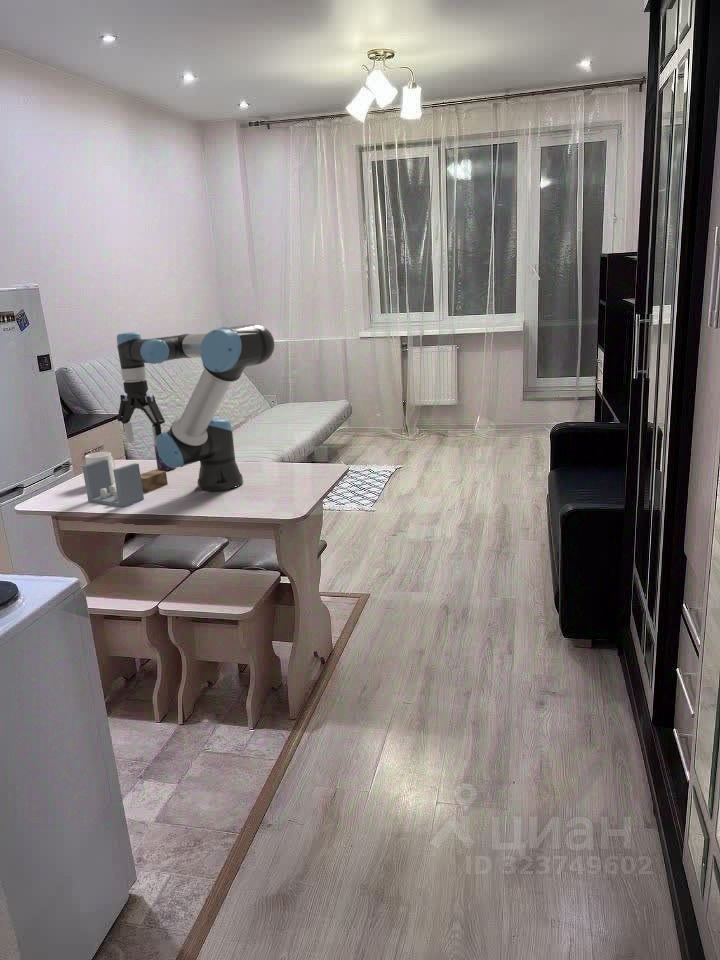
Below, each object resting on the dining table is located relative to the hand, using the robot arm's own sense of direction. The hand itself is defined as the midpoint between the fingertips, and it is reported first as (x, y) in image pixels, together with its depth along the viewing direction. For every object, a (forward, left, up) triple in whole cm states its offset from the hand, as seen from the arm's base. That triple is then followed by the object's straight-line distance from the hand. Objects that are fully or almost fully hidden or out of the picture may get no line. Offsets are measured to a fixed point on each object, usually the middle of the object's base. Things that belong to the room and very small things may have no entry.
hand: (144, 443), depth 242 cm
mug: (+22, +1, -16) cm, 27 cm away
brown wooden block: (0, 0, -16) cm, 16 cm away
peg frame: (0, +15, -16) cm, 22 cm away
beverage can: (+14, -21, -16) cm, 30 cm away
